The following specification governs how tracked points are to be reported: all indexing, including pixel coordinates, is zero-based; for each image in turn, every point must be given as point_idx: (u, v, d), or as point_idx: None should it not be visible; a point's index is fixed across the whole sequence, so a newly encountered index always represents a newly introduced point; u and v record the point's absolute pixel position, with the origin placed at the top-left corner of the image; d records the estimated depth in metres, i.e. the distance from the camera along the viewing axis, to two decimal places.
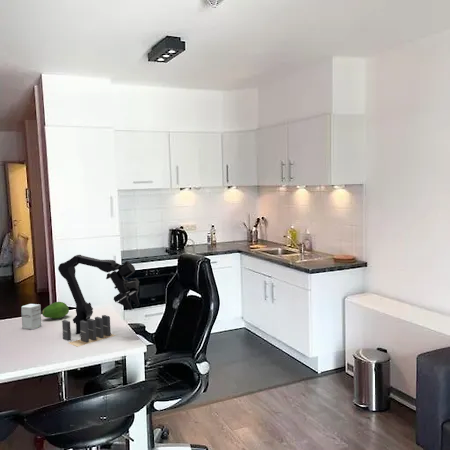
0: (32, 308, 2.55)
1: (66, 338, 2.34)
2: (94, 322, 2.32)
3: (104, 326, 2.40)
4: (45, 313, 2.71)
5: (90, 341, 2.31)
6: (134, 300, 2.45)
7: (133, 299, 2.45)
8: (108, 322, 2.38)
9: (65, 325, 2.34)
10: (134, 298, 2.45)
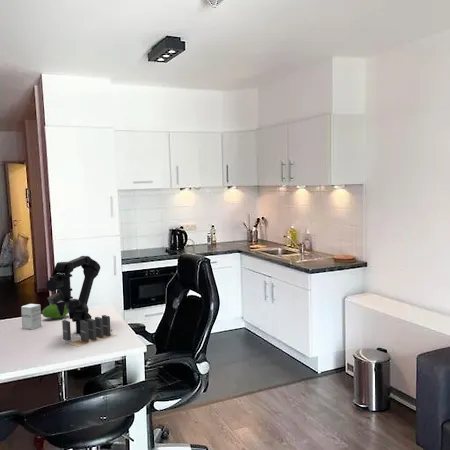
0: (32, 308, 2.55)
1: (66, 338, 2.34)
2: (94, 322, 2.32)
3: (104, 326, 2.40)
4: (45, 313, 2.71)
5: (90, 341, 2.31)
6: None
7: None
8: (108, 322, 2.38)
9: (65, 325, 2.34)
10: None
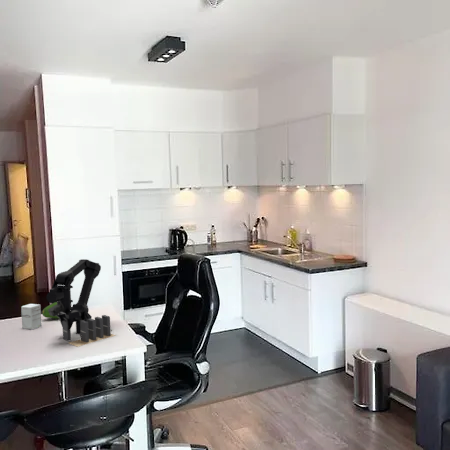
0: (32, 308, 2.55)
1: (66, 338, 2.34)
2: (94, 322, 2.32)
3: (104, 326, 2.40)
4: (45, 313, 2.71)
5: (90, 341, 2.31)
6: None
7: None
8: (108, 322, 2.38)
9: (65, 325, 2.34)
10: None
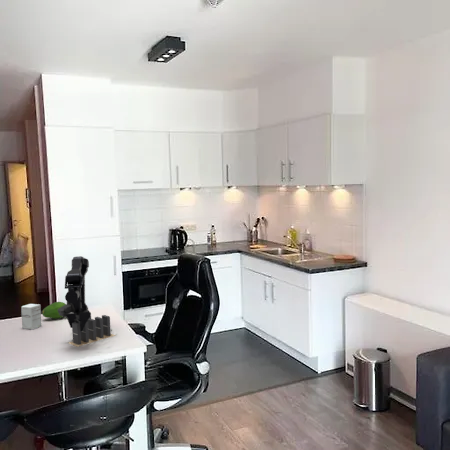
0: (32, 308, 2.55)
1: (76, 341, 2.27)
2: (94, 322, 2.32)
3: (104, 326, 2.40)
4: (45, 313, 2.71)
5: (90, 341, 2.31)
6: None
7: None
8: (108, 322, 2.38)
9: (75, 327, 2.27)
10: None
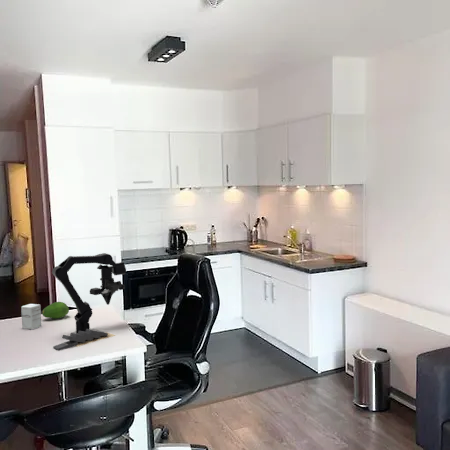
0: (32, 308, 2.55)
1: None
2: (77, 336, 2.26)
3: None
4: (45, 313, 2.71)
5: (90, 341, 2.31)
6: None
7: None
8: (96, 333, 2.33)
9: None
10: (108, 296, 2.55)
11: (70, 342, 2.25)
